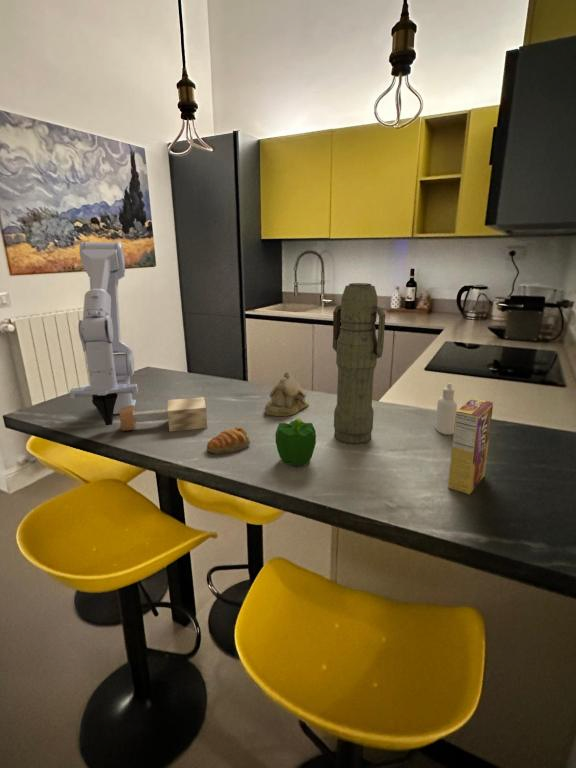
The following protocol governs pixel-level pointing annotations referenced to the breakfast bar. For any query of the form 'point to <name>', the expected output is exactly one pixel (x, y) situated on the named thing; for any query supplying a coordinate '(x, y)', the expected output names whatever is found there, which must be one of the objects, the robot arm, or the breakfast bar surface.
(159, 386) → the breakfast bar surface
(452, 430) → the eye dropper bottle
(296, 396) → the ceramic model
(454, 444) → the candy box
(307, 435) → the bell pepper
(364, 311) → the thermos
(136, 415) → the shaft
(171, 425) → the block
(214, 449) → the pastry
